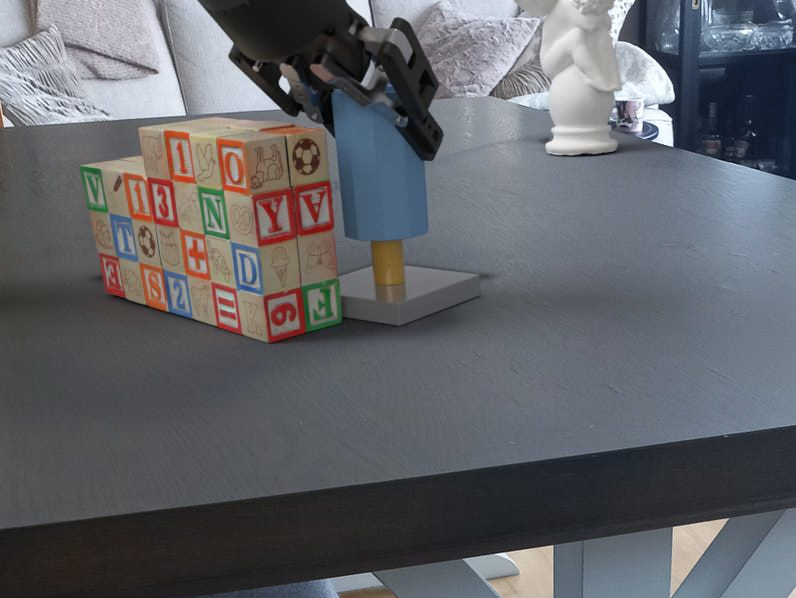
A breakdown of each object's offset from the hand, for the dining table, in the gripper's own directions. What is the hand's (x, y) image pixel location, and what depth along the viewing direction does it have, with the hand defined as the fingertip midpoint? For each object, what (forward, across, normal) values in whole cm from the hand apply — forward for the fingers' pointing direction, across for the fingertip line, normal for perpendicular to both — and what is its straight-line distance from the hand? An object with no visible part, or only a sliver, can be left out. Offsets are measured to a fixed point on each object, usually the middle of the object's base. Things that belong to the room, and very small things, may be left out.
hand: (397, 147), depth 81 cm
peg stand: (+6, 0, +8) cm, 10 cm away
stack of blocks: (+1, +10, +13) cm, 17 cm away
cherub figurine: (+53, +28, -38) cm, 71 cm away
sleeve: (+2, 0, +5) cm, 5 cm away
